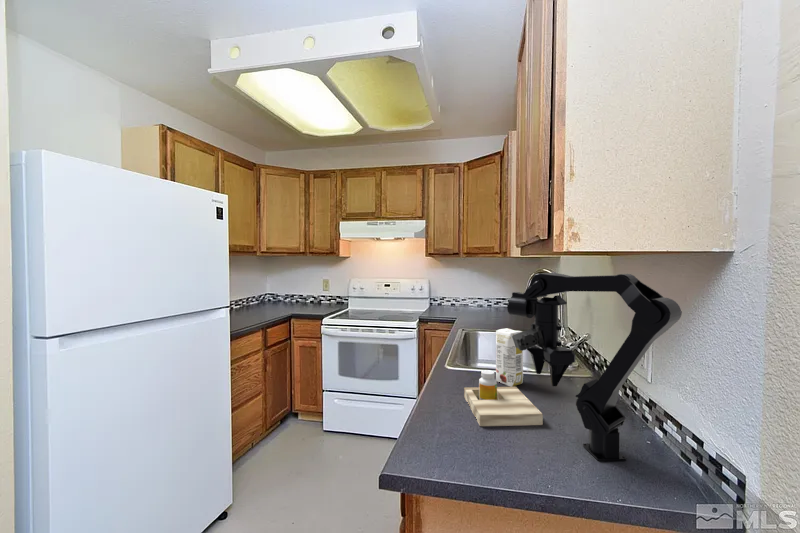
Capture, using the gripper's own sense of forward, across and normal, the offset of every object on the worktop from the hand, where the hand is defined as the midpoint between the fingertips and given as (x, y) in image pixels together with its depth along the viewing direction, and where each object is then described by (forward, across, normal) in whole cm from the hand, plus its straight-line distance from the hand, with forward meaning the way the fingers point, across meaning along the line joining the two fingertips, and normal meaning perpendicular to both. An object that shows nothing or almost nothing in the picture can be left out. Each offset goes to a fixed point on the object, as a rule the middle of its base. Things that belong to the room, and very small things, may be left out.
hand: (546, 379), depth 91 cm
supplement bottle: (+13, -16, -11) cm, 23 cm away
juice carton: (+13, -34, +2) cm, 37 cm away
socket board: (+13, -12, -8) cm, 20 cm away
